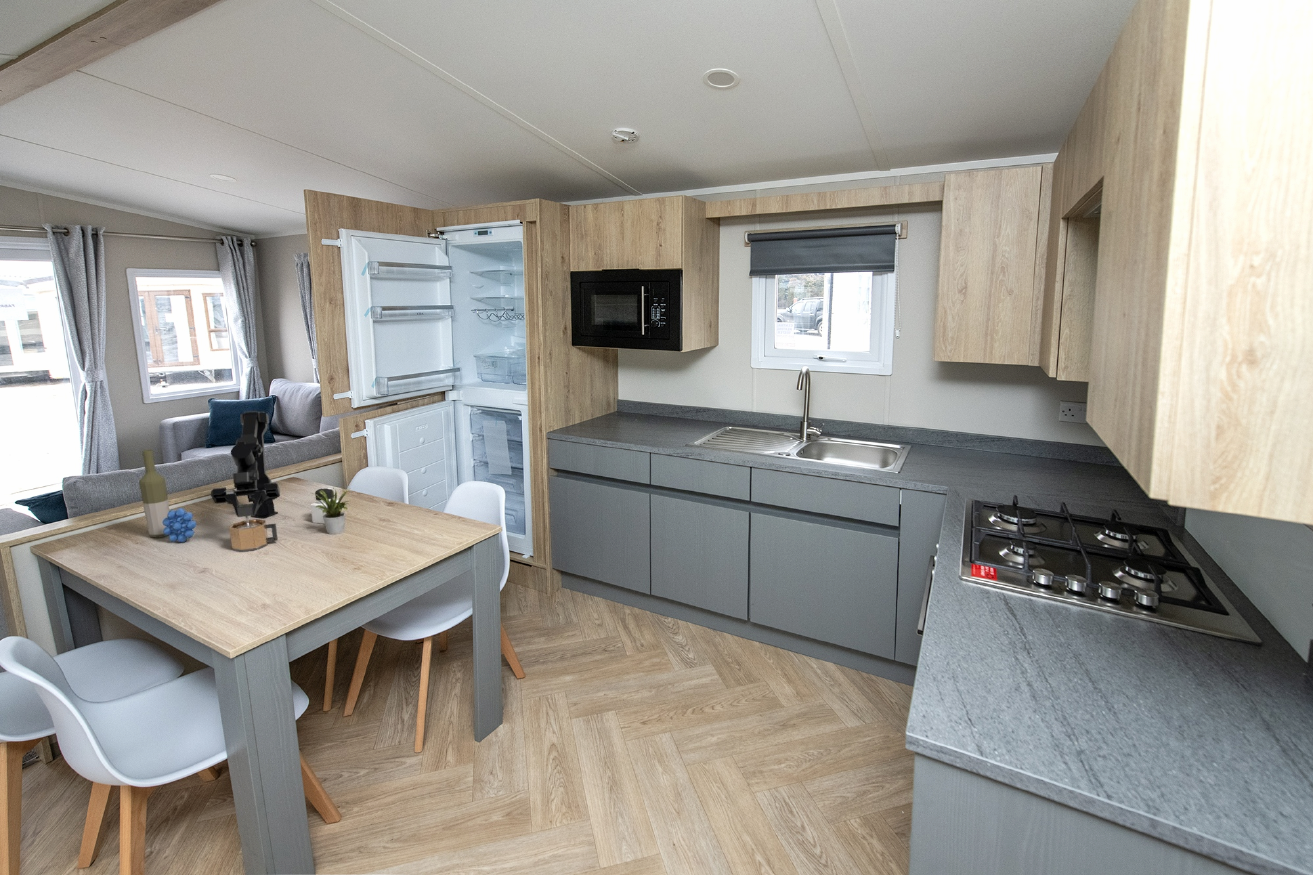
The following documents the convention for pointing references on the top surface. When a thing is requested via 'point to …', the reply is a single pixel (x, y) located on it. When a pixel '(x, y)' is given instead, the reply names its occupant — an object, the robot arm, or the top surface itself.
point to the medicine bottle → (318, 513)
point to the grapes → (179, 525)
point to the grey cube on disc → (246, 515)
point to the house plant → (333, 513)
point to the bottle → (153, 496)
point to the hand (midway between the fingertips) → (245, 515)
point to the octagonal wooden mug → (251, 536)
